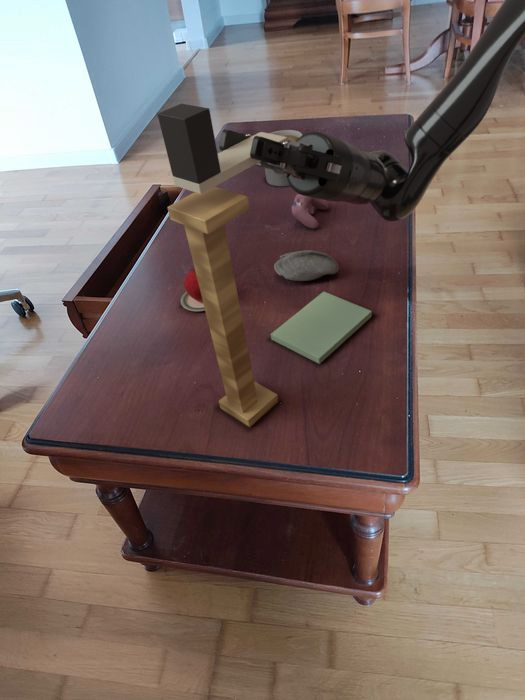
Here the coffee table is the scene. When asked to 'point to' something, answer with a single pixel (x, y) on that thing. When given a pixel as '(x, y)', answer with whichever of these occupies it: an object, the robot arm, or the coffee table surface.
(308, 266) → the seashell
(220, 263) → the stand
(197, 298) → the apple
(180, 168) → the wooden mallet
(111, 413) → the coffee table surface
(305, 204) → the video game controller
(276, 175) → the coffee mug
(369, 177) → the robot arm
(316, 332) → the pale green rectangular panel
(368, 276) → the coffee table surface
